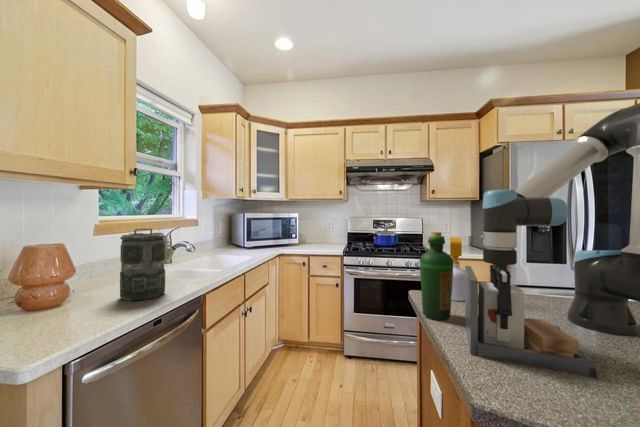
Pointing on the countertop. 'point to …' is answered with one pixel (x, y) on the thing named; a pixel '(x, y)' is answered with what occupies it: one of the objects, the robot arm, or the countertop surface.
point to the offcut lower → (533, 347)
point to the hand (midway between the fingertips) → (499, 333)
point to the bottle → (436, 279)
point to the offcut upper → (549, 337)
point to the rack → (511, 354)
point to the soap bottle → (457, 271)
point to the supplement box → (489, 319)
